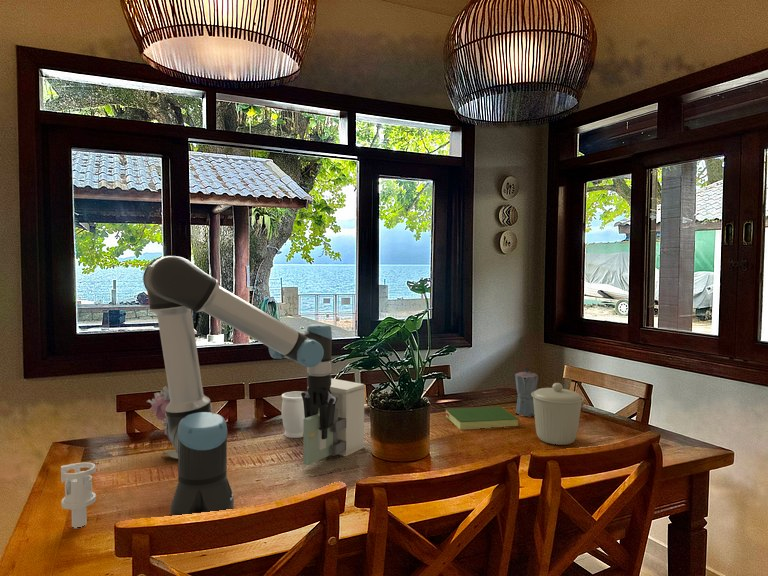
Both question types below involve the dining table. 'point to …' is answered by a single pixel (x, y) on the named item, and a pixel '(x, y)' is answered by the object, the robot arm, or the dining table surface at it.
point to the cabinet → (348, 416)
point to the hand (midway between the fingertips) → (318, 447)
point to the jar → (293, 414)
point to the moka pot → (525, 392)
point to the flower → (163, 412)
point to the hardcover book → (480, 417)
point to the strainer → (78, 491)
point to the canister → (557, 414)
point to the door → (316, 439)
